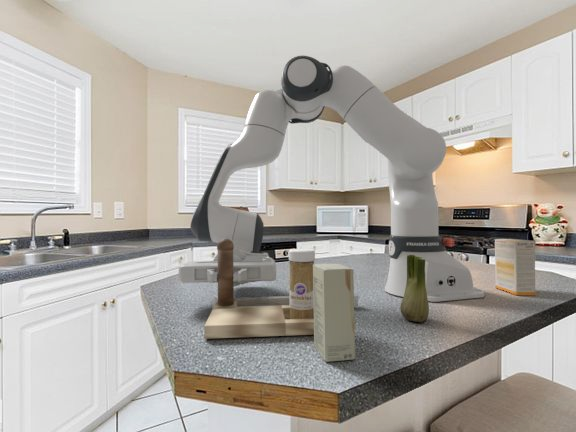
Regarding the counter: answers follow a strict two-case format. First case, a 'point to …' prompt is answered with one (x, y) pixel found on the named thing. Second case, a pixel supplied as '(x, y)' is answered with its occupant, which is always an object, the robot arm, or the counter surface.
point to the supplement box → (515, 266)
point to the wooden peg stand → (247, 309)
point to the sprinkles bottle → (301, 283)
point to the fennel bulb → (415, 291)
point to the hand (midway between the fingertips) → (225, 278)
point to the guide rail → (267, 301)
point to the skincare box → (334, 311)
